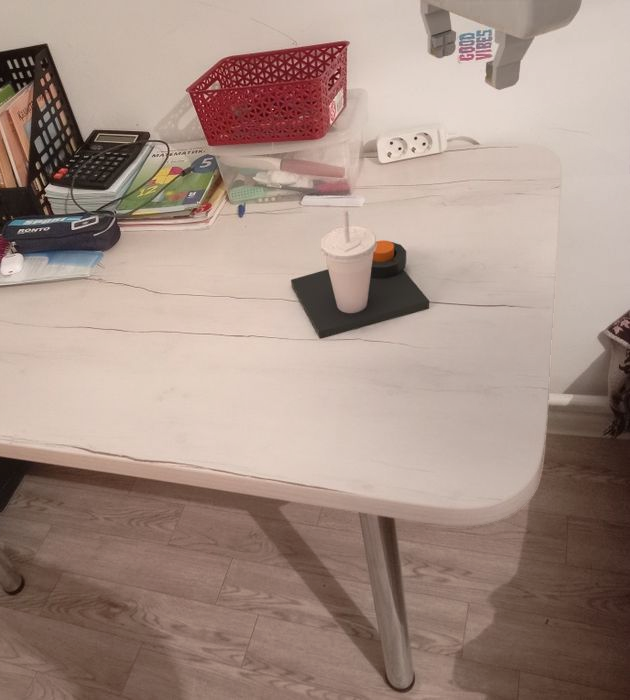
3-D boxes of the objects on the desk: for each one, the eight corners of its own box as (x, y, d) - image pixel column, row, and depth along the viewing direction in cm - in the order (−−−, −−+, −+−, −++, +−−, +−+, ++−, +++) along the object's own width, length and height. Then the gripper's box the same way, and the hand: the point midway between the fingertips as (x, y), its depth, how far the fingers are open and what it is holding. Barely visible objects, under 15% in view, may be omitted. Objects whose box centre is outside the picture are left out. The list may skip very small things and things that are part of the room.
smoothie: (321, 318, 78) (312, 223, 70) (330, 287, 83) (323, 194, 74) (374, 321, 76) (371, 222, 67) (381, 289, 80) (379, 192, 71)
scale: (394, 255, 86) (394, 236, 84) (436, 306, 77) (437, 286, 75) (290, 284, 87) (288, 267, 85) (319, 338, 78) (317, 320, 76)
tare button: (388, 247, 84) (388, 237, 83) (398, 258, 81) (397, 249, 80) (366, 253, 84) (366, 244, 83) (375, 265, 82) (375, 255, 81)
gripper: (638, -160, 33) (593, 94, 42) (451, -153, 49) (447, 30, 58) (522, -121, 34) (501, 122, 43) (374, -127, 50) (381, 51, 58)
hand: (469, 69), depth 50 cm, fingers open, 8 cm apart
